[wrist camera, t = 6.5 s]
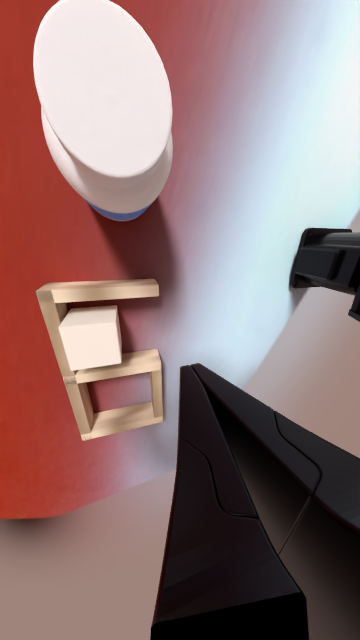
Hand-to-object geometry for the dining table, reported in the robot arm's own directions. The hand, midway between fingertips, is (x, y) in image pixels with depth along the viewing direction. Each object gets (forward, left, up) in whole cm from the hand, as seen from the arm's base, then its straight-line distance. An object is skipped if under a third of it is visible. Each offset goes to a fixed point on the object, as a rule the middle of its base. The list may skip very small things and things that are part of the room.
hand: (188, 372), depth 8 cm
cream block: (+5, +3, -12) cm, 14 cm away
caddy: (+4, +7, -12) cm, 14 cm away
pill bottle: (+2, -9, -12) cm, 15 cm away
